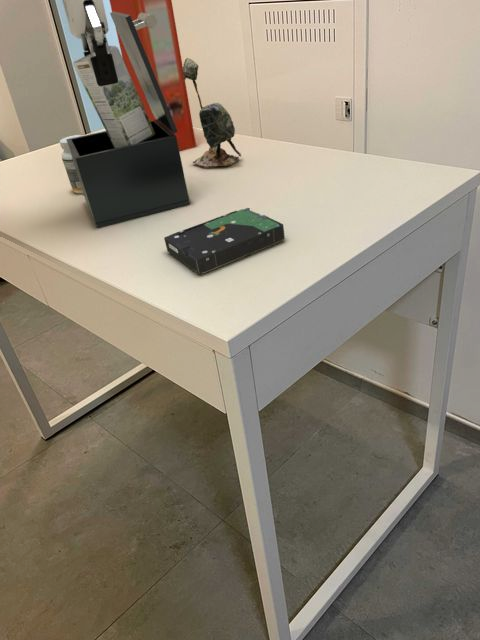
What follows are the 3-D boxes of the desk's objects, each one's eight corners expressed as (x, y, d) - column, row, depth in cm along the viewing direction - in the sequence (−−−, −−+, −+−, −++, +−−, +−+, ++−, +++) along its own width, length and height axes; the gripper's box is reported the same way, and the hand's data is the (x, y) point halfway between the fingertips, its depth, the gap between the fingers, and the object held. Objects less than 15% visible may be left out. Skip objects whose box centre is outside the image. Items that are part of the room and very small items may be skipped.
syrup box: (140, 134, 97) (99, 47, 89) (157, 134, 93) (116, 43, 85) (114, 149, 95) (70, 61, 86) (131, 150, 91) (86, 58, 82)
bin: (97, 228, 93) (75, 158, 86) (86, 203, 103) (66, 139, 96) (190, 204, 97) (176, 135, 90) (170, 182, 107) (157, 119, 100)
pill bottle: (87, 182, 113) (72, 133, 107) (107, 185, 111) (93, 134, 105) (67, 193, 109) (50, 142, 104) (87, 195, 107) (71, 143, 101)
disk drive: (200, 278, 75) (286, 240, 81) (196, 260, 73) (284, 222, 79) (166, 254, 82) (247, 221, 88) (162, 237, 80) (245, 204, 86)
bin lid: (125, 17, 79) (156, 3, 79) (109, 13, 89) (137, 1, 90) (173, 134, 90) (200, 121, 90) (154, 118, 100) (179, 106, 101)
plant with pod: (221, 174, 108) (203, 62, 96) (188, 164, 115) (168, 59, 103) (252, 162, 112) (238, 52, 100) (218, 153, 119) (202, 50, 107)
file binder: (171, 132, 138) (140, -20, 119) (197, 146, 126) (167, -21, 107) (140, 139, 136) (104, -15, 117) (164, 154, 123) (128, -15, 104)
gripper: (38, -50, 83) (74, 78, 94) (46, -56, 70) (88, 94, 80) (87, -56, 85) (117, 70, 96) (105, -63, 72) (138, 84, 82)
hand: (104, 80), depth 88 cm, fingers closed on syrup box, 7 cm apart
